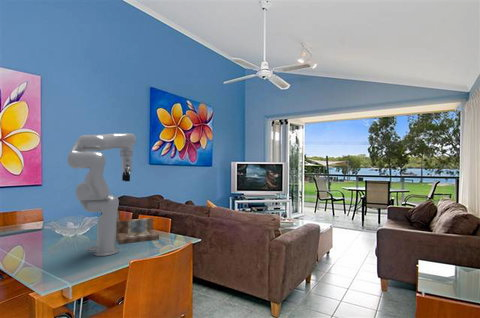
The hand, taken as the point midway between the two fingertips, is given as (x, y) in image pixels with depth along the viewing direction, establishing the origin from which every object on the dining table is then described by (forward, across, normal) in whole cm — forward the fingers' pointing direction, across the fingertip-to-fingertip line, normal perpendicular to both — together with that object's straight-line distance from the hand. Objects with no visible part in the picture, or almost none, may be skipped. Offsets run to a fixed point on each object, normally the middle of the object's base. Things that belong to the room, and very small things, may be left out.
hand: (126, 180), depth 173 cm
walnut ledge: (+38, +4, -8) cm, 39 cm away
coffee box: (+38, +24, +6) cm, 46 cm away
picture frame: (+36, +2, -8) cm, 37 cm away
